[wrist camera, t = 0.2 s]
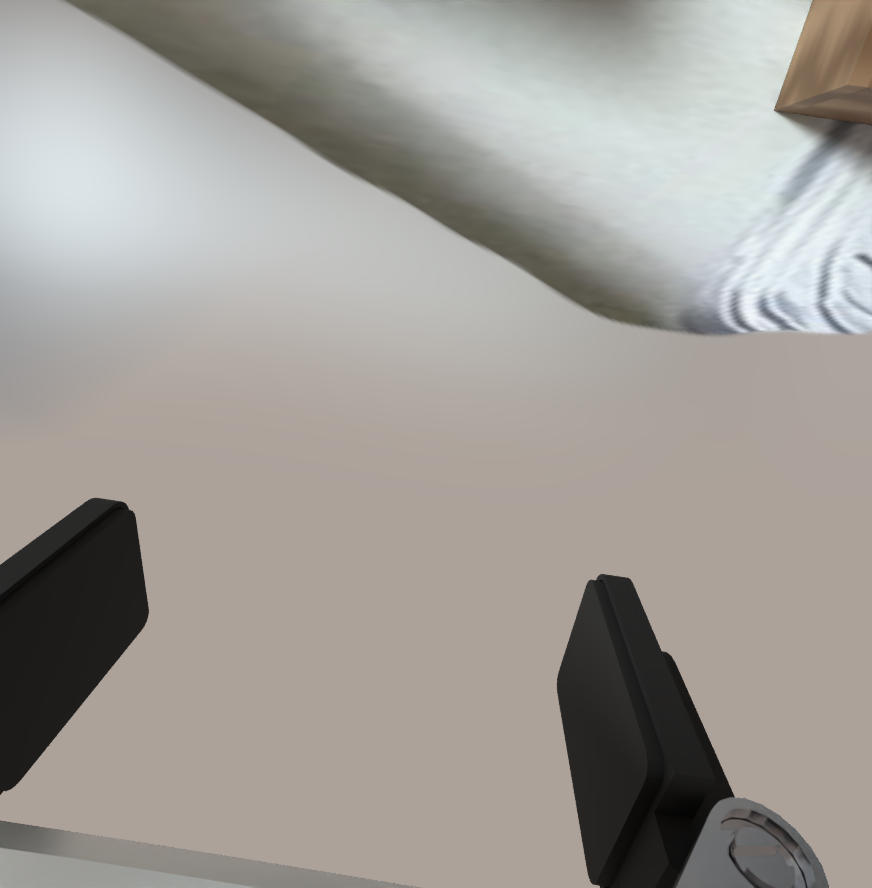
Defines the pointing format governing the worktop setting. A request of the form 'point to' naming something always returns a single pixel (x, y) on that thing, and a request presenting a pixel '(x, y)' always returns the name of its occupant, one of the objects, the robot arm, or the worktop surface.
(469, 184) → the worktop surface
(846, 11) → the box
